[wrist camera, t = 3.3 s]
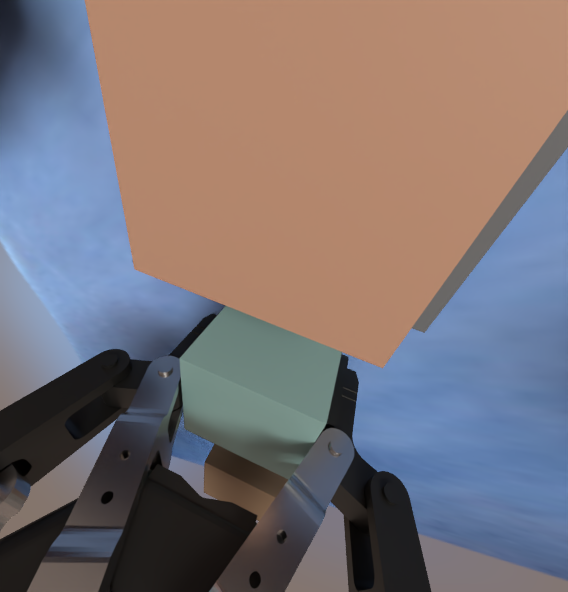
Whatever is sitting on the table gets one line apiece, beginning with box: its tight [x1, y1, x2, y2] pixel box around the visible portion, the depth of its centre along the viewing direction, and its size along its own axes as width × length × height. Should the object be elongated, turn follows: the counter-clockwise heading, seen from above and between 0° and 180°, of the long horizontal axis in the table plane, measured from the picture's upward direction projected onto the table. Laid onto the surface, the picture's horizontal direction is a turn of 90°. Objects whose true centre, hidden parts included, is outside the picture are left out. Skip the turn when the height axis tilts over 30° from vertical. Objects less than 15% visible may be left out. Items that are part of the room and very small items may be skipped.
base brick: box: [85, 0, 568, 368], centre depth 5 cm, size 5×5×5 cm
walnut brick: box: [204, 444, 288, 521], centre depth 16 cm, size 5×5×5 cm
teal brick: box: [179, 306, 342, 480], centre depth 12 cm, size 5×5×5 cm
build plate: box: [412, 110, 568, 333], centre depth 8 cm, size 10×10×1 cm
